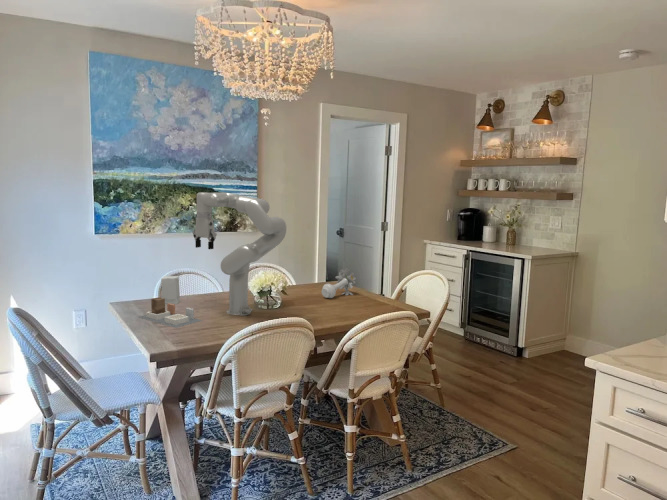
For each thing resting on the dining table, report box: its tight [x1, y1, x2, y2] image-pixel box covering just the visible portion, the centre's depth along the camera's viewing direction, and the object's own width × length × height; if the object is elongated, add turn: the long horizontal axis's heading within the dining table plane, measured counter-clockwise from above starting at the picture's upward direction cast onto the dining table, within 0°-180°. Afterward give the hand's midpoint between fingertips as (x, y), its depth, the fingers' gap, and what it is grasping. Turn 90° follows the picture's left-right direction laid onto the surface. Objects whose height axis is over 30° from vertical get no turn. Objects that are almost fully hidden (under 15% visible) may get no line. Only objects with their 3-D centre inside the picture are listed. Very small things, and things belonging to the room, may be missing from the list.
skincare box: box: [160, 275, 181, 305], centre depth 275 cm, size 8×7×16 cm
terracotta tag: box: [166, 303, 176, 315], centre depth 253 cm, size 4×1×5 cm, turn 56°
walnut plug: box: [150, 296, 166, 314], centre depth 246 cm, size 4×4×9 cm
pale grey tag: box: [185, 307, 195, 320], centre depth 245 cm, size 4×1×5 cm, turn 56°
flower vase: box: [321, 267, 357, 299], centre depth 308 cm, size 13×18×25 cm
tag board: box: [138, 310, 203, 329], centre depth 244 cm, size 29×16×4 cm, turn 56°
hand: (204, 248), depth 264 cm, fingers open, 9 cm apart
